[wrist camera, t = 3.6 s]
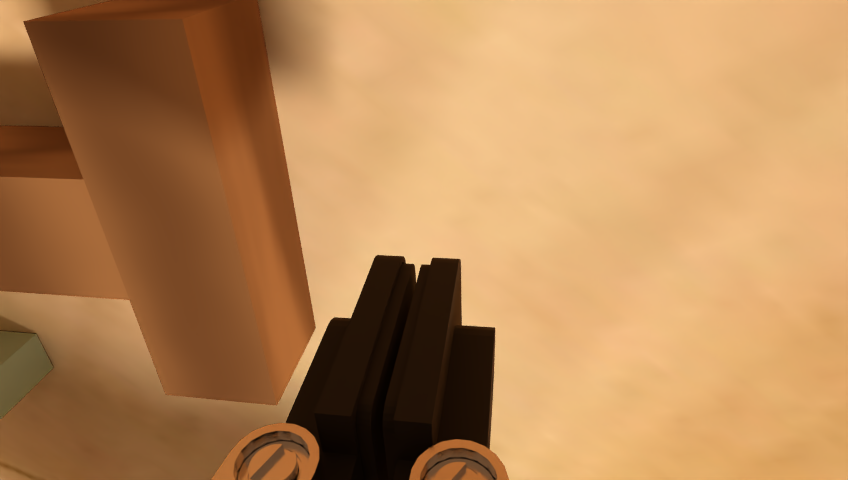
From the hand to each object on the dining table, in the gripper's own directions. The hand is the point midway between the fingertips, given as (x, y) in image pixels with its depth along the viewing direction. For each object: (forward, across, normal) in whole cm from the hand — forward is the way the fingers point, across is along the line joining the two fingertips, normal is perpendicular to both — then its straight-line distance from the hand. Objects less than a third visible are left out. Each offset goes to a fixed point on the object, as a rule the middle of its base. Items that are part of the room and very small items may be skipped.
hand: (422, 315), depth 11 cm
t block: (+7, +12, +1) cm, 14 cm away
